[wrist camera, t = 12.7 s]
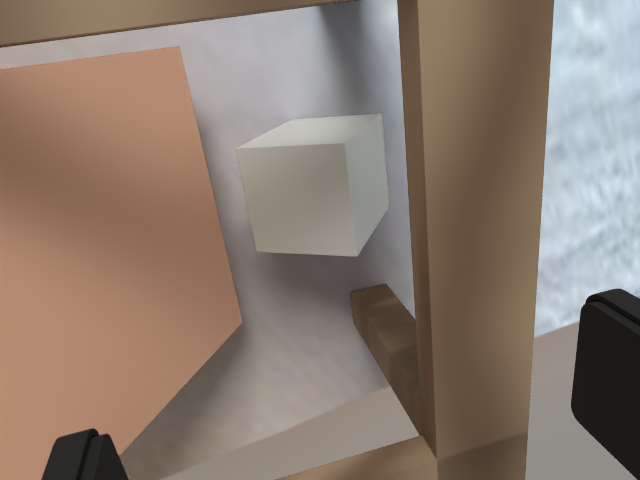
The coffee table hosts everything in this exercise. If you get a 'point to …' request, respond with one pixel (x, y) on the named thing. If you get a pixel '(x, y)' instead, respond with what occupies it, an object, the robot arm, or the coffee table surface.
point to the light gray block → (316, 184)
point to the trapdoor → (103, 251)
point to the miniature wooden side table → (426, 218)
